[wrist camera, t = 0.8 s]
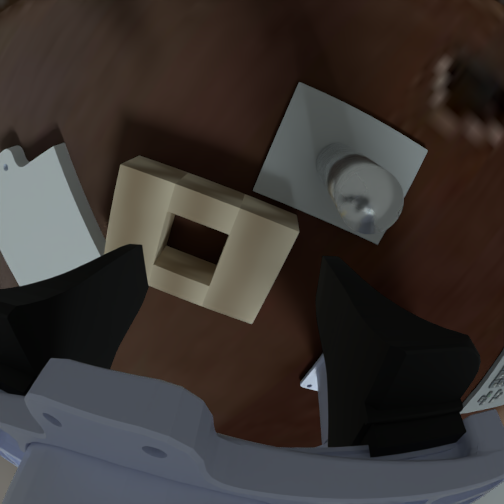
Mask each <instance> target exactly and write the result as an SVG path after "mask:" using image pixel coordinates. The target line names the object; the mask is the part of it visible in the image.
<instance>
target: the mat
mask: <svg viewBox="0 0 504 504" xmlns="http://www.w3.org/2000/svg"><path fill="white" fill-rule="evenodd" d="M336 142H339V143H344V144H347V145H349V146H351V147H352V148H354V149H355V150H357V151H358V152H360V153H362V154H363V155H365V156H366V157H368V158H369V159H371V160H372V161H374V162H375V163H377V164H378V165H380V166H381V167H382V168H384V169H385V170H387V171H388V172H390V173H391V174H392V175H393V176H395V178H396V179H397V180H398V181H399V183H400V185H401V187H402V190H403V195H404V197H405V195H406V193H407V191H408V189H409V187H410V186H411V184H412V182H413V180H414V178H415V176H416V174H417V172H418V170H419V168H420V166H421V164H422V162H423V160H424V158H425V155H426V153H427V151H428V150H426V149H425V148H423V147H422V146H420V145H419V144H417V143H416V142H414V141H412V140H411V139H409V138H408V137H406V136H404V135H403V134H401V133H399V132H398V131H396V130H394V129H393V128H391V127H389V126H387V125H386V124H384V123H382V122H380V121H379V120H377V119H375V118H373V117H371V116H370V115H368V114H366V113H364V112H362V111H360V110H358V109H356V108H354V107H352V106H350V105H348V104H346V103H344V102H342V101H340V100H338V99H336V98H334V97H332V96H330V95H328V94H326V93H323V92H321V91H319V90H317V89H315V88H312V87H310V86H308V85H305V84H303V83H301V82H299V83H298V85H297V88H296V90H295V92H294V95H293V97H292V99H291V101H290V104H289V106H288V108H287V111H286V113H285V115H284V118H283V120H282V122H281V124H280V127H279V129H278V131H277V134H276V136H275V138H274V141H273V143H272V146H271V148H270V150H269V153H268V155H267V157H266V160H265V162H264V164H263V167H262V169H261V172H260V174H259V176H258V179H257V181H256V184H255V186H254V188H253V191H254V192H257V193H259V194H262V195H264V196H267V197H269V198H272V199H274V200H276V201H279V202H281V203H284V204H286V205H289V206H291V207H293V208H296V209H298V210H301V211H303V212H305V213H308V214H310V215H312V216H315V217H317V218H319V219H322V220H324V221H326V222H329V223H331V224H333V225H335V226H338V227H340V228H342V229H344V230H347V231H349V232H351V233H353V234H356V235H358V236H360V237H362V238H364V239H367V240H369V241H371V242H373V243H375V244H377V245H378V243H379V242H380V240H381V238H382V237H383V235H384V233H385V231H386V230H387V229H386V230H385V231H382V232H380V233H377V234H362V233H358V232H356V231H354V230H352V229H351V228H349V227H348V226H347V225H346V224H345V222H344V221H343V219H342V218H341V216H340V214H339V212H338V210H337V208H336V206H335V204H334V202H333V200H332V198H331V197H330V195H329V193H328V191H327V189H326V187H325V185H324V184H323V182H322V180H321V178H320V176H319V175H318V172H317V169H316V159H317V156H318V154H319V152H320V151H321V150H322V149H323V148H324V147H325V146H327V145H328V144H331V143H336Z"/></svg>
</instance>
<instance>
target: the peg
mask: <svg viewBox="0 0 504 504" xmlns="http://www.w3.org/2000/svg"><path fill="white" fill-rule="evenodd" d="M316 169H317V172H318V175H319V176H320V178H321V180H322V182H323V184H324V185H325V187H326V189H327V191H328V193H329V195H330V197H331V198H332V200H333V202H334V204H335V206H336V208H337V210H338V212H339V214H340V216H341V218H342V219H343V221H344V222H345V224H346V225H347V226H348V227H349V228H351V229H352V230H354V231H356V232H358V233H362V234H377V233H380V232H382V231H385V230H386V229H388V228H389V227H391V226H392V225H393V224H394V223H395V222H396V220H397V219H398V217H399V216H400V214H401V211H402V208H403V203H404V195H403V190H402V187H401V185H400V183H399V181H398V180H397V179H396V178H395V176H393V175H392V174H391V173H390V172H388V171H387V170H385V169H384V168H382V167H381V166H380V165H378V164H377V163H375V162H374V161H372V160H371V159H369V158H368V157H366V156H365V155H363V154H362V153H360V152H358V151H357V150H355V149H354V148H352V147H351V146H349V145H347V144H344V143H339V142H336V143H331V144H328V145H327V146H325V147H324V148H323V149H322V150H321V151H320V152H319V154H318V156H317V159H316Z"/></svg>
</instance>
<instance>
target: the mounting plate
mask: <svg viewBox="0 0 504 504" xmlns="http://www.w3.org/2000/svg"><path fill="white" fill-rule="evenodd" d="M105 244H106V240H105V238H104V236H103V234H102V232H101V230H100V228H99V226H98V223H97V221H96V219H95V217H94V215H93V212H92V210H91V208H90V205H89V203H88V201H87V199H86V196H85V194H84V191H83V189H82V187H81V184H80V182H79V179H78V177H77V174H76V172H75V169H74V166H73V164H72V161H71V158H70V156H69V153H68V150H67V148H66V145H65V143H62V144H58V145H55V146H53V147H51V148H50V149H48V150H47V151H45V152H44V153H42V154H41V155H39V156H38V157H37V158H35V159H34V160H32V161H31V162H29V161H28V160H27V159H26V157H25V154H24V151H23V149H22V147H20V146H18V145H16V146H13V147H10V148H7V149H5V150H3V151H2V152H1V153H0V250H1V252H2V254H3V256H4V258H5V260H6V262H7V264H8V266H9V268H10V270H11V271H12V273H13V275H14V277H15V279H16V281H17V282H18V284H19V286H23V285H28V284H32V283H35V282H39V281H42V280H46V279H49V278H52V277H55V276H58V275H60V274H63V273H65V272H68V271H70V270H73V269H75V268H77V267H79V266H81V265H83V264H86V263H88V262H90V261H92V260H94V259H96V258H98V257H100V256H102V255H104V251H105Z"/></svg>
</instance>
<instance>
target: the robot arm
mask: <svg viewBox="0 0 504 504" xmlns="http://www.w3.org/2000/svg"><path fill="white" fill-rule="evenodd" d="M148 287H149V286H148V280H147V274H146V267H145V261H144V254H143V247H142V245H140V244H127V245H124V246H121V247H119V248H117V249H115V250H112V251H110V252H108V253H106V254H104V255H102V256H100V257H98V258H96V259H94V260H92V261H90V262H88V263H86V264H83V265H81V266H79V267H77V268H75V269H73V270H70V271H68V272H65V273H63V274H60V275H58V276H55V277H52V278H49V279H46V280H42V281H39V282H35V283H32V284H28V285H23V286H19V287H13V288H7V289H0V455H1V456H2V457H3V458H5V459H6V460H8V461H9V462H11V463H12V464H14V465H15V466H17V467H18V469H17V471H16V473H15V475H14V477H13V480H12V482H11V484H10V486H9V488H8V490H7V493H6V495H5V498H4V500H3V502H2V504H470V503H473V502H475V501H476V500H478V499H479V498H481V497H482V496H484V495H485V494H487V493H488V492H490V491H491V490H493V489H494V488H495V487H497V486H498V485H500V484H501V483H502V482H504V427H503V424H502V422H501V420H500V417H499V415H498V413H497V411H496V409H492V410H489V411H485V412H481V413H477V414H473V415H471V416H468V417H467V418H465V419H464V420H463V421H462V418H461V415H460V413H459V412H461V411H462V410H463V404H462V402H461V399H460V398H461V397H462V395H463V394H464V393H465V391H466V390H467V388H468V387H469V385H470V384H471V382H472V381H473V379H474V378H475V376H476V374H477V372H478V370H479V366H480V362H481V361H480V355H479V353H478V351H477V350H476V348H475V346H474V344H473V343H472V341H471V339H470V337H469V336H468V335H465V334H462V333H459V332H456V331H452V330H449V329H446V328H443V327H441V326H438V325H436V324H433V323H431V322H428V321H426V320H424V319H422V318H420V317H418V316H416V315H414V314H412V313H410V312H408V311H406V310H405V309H403V308H401V307H399V306H398V305H396V304H395V303H393V302H392V301H390V300H389V299H387V298H386V297H384V296H383V295H382V294H380V293H379V292H378V291H377V290H375V289H374V288H373V287H371V286H370V285H369V284H368V283H367V282H366V281H364V280H363V279H362V278H361V277H360V276H359V275H358V274H357V273H356V272H354V271H353V270H352V269H351V268H350V267H349V266H348V265H347V264H346V263H345V262H344V261H343V260H341V259H340V258H339V257H336V256H322V262H321V269H320V275H319V281H318V287H317V293H316V316H317V324H318V329H319V334H320V339H321V344H322V350H323V354H322V355H321V356H320V358H319V359H318V360H317V361H316V363H315V364H314V365H313V367H312V368H311V369H310V370H309V372H308V373H307V374H306V375H305V376H304V378H303V379H302V380H301V381H300V386H301V387H304V388H308V389H312V390H316V391H318V397H319V409H320V422H321V436H322V445H321V446H318V447H316V448H285V447H274V446H269V445H264V444H259V443H255V442H250V441H246V440H242V439H238V438H234V437H230V436H226V435H223V434H219V433H216V432H215V429H214V423H213V416H212V414H211V412H210V411H209V409H208V407H207V406H206V404H205V402H204V401H203V400H202V399H200V398H199V397H197V396H196V395H194V394H193V393H191V392H190V391H188V390H187V389H185V388H184V387H182V386H178V385H175V384H172V383H169V382H166V381H163V380H160V379H154V378H149V377H143V376H138V375H133V374H128V373H124V372H119V371H114V370H110V367H111V365H112V362H113V359H114V357H115V354H116V352H117V350H118V347H119V345H120V343H121V342H122V340H123V338H124V336H125V334H126V333H127V331H128V329H129V327H130V325H131V324H132V322H133V320H134V318H135V316H136V315H137V313H138V311H139V309H140V307H141V306H142V303H143V301H144V298H145V295H146V293H147V290H148ZM309 384H310V385H309Z"/></svg>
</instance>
